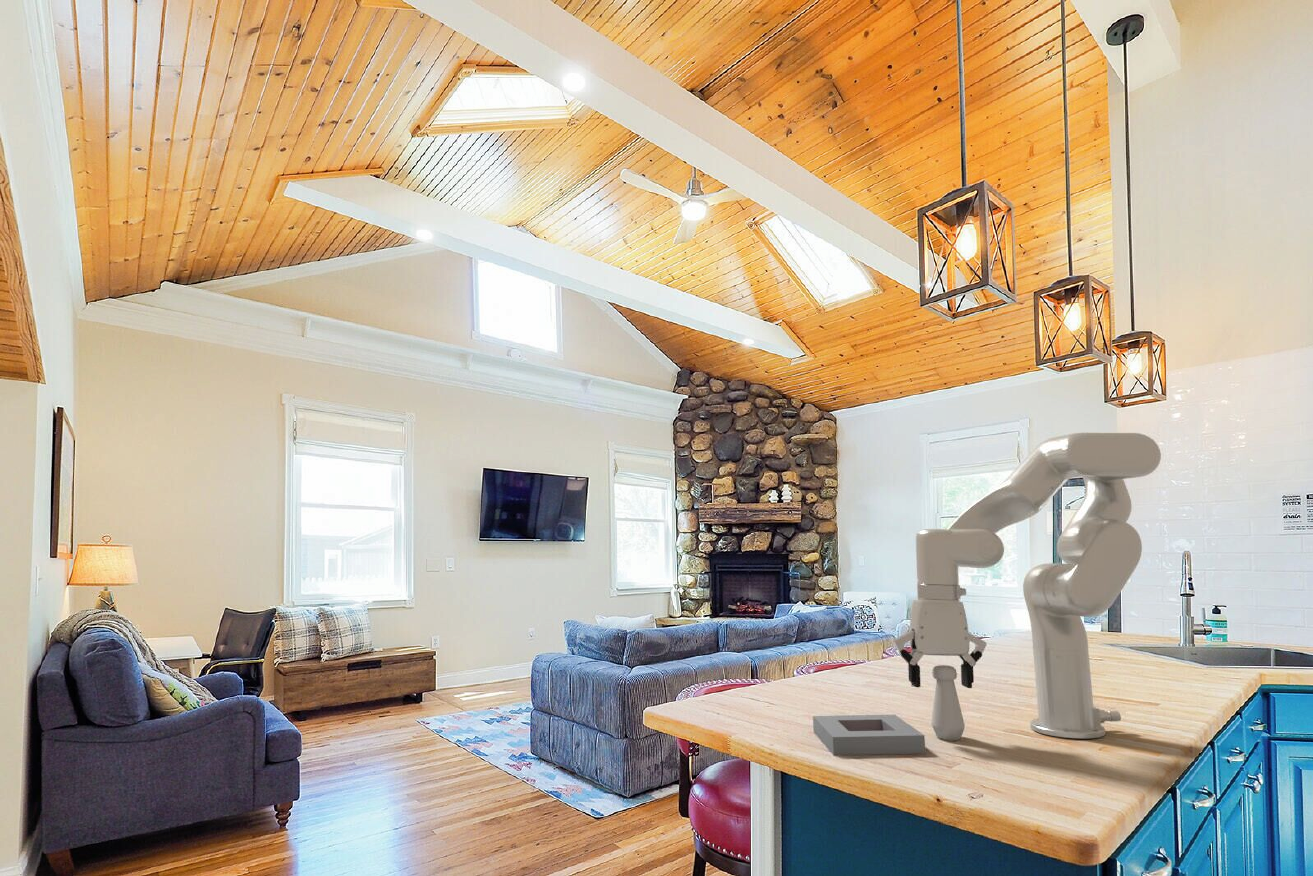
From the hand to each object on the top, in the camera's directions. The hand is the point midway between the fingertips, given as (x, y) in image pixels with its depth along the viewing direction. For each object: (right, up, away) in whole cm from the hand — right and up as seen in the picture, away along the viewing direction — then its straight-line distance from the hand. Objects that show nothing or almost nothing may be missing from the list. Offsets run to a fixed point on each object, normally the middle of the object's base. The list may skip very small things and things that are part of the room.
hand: (941, 686), depth 142 cm
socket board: (-15, -9, -3) cm, 18 cm away
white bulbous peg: (+1, -9, -1) cm, 10 cm away
